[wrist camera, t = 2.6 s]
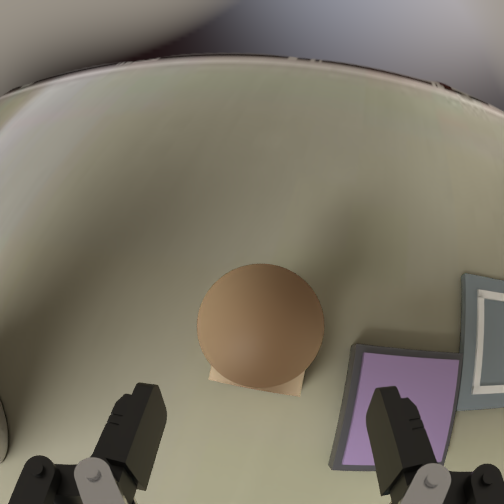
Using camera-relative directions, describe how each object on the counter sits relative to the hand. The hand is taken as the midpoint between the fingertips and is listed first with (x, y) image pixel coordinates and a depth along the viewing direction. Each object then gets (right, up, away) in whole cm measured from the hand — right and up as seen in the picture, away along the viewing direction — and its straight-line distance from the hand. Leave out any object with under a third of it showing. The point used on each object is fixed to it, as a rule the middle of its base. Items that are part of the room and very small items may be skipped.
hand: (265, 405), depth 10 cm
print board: (+19, -2, +7) cm, 21 cm away
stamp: (0, 0, +8) cm, 8 cm away
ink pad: (+9, -5, +6) cm, 12 cm away
